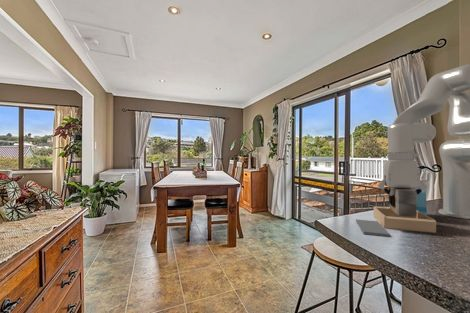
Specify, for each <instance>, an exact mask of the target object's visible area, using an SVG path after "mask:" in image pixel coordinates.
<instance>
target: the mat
mask: <svg viewBox="0 0 470 313" xmlns="http://www.w3.org/2000/svg"><path fill="white" fill-rule="evenodd" d="M355 223H356V224H357V226H358V227H359V229H360V230H361V232H362V234H363V235H370V236H379V237H387V238H388V237H390V233H389V232H388V231H387V229H386V228H384V227H383V226H382V225H381V224H380V223H379V222H378V221H377V220H369V219H368V220H367V219H357V218H355Z"/></svg>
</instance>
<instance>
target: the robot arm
mask: <svg viewBox="0 0 470 313" xmlns="http://www.w3.org/2000/svg"><path fill="white" fill-rule="evenodd" d="M468 91H470V64H464V65H460V66H458V67H455V68H451V69H449V70H448V69H447V70H445V71H442V72H438V73H436V74H434V75H433V76H431V77H430V78H429V80H428V81H427V83H426V85H425V87H424V88H423V90H422V92H421V94H420V96H419V97H418V99H417V100H416V101H415V102H414V103H412V104H411V105H410V106H409V107H407V108H406V109H405V110H404V111H402V112H401V113H399V115H397V116H396V118H395V119H394V120H393V122H392V124H391V125H389V126H388V127H387V130H386V132H387V160H386V161H385V162H384V167H383V179H382V180H381V181H380V182H379V183H378V184H377V187H378V188H380V189H381V190H382V191H383V192H384V193H386V194H387V195H388V204H389V206H390V205H391V206H393V207H395V196H394V191H395V188H409V189H413V190H415V191H416V196H417V195H418V194H419V193H421V192H422V191H423V190H425V189H428V185H426V184H425V183H424V182H423V181H422V180H421V176H420V169H419V166H418V163H417V160H415V159H417V158H419V157H420V154H419V153H416V152H415V151H414V149H415V145H414V144H423V143H425V144H426V143H428V142H430V141H432V140H434V138H435V137H436V136H437V129H436V127H435V126H434V125H433V124H431V123H429V122H420V121H421V120H424V119H427V118H429V117H430V116H433V115H436V114H438V113H439V112H441V111H442V110H443V109H444V108H445V106H446V105H447V103H448V105H449V110H448V120H447V127H446V128H447V129H446V130H447V133H448V135H450V136H452V137H458V139H451V140H446V141H444V142H443V143H441V144H440V146H439V148H438V150H439V152H438V153H439V156H440V160H441V165H442V200H443V201H442V203H443V204H442V206H443V208H439V209H438V213H439V214H441V215H444V216H446V217H447V216H448V217H453V218H459V219H466V220H470V164H469V163H470V138H463V137H470V92H468ZM417 122H418V123H417ZM461 137H462V138H461ZM418 187H419V188H418ZM415 188H417V189H415Z"/></svg>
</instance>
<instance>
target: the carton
mask: <svg viewBox="0 0 470 313" xmlns="http://www.w3.org/2000/svg"><path fill="white" fill-rule="evenodd" d="M373 218H374V219H375V221H377V222H378V223H379V224H380V225H381V226H382V227H383V228H384V229H392V230H394V229H395V230H401V231H413V232H423V233H435V234H437V223H438V221H437V220H436V219H434V218H432V217H431V216H428V214H427V215H425V214H423V213H421V212H419V211H417V217H409V216H399V215H397V214H396V213H395V212H393V211H392V210H391V209H390V206H389V207H388V206H377V205H374V207H373Z"/></svg>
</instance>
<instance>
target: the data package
mask: <svg viewBox="0 0 470 313" xmlns="http://www.w3.org/2000/svg"><path fill="white" fill-rule="evenodd" d="M418 188H419V187H418ZM415 189H417V188H415ZM426 189H427V188H426ZM426 189H425V190H423V191H422V192H421V193H419V194H418V195H417V196H416V208H417V211H419V212H421V213H423V214H425V215H427V216H428V212H427V210H428V209H427V208H428V206H427V190H426Z"/></svg>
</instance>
